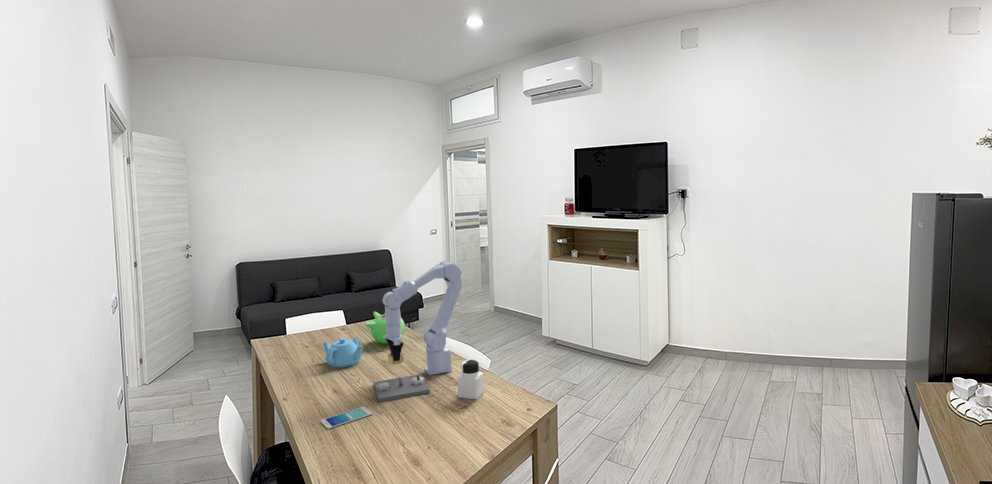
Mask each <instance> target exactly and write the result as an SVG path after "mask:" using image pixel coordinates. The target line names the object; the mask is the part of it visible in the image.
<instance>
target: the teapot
mask: <svg viewBox="0 0 992 484" xmlns="http://www.w3.org/2000/svg"><path fill="white" fill-rule="evenodd" d="M322 345H323V348H324V350H325V353H326V355H325V356H326V357H325V361H326V362H327V364H328V365H329V366H330V367H332V368H335V369H337V368H338V369H339V368H340V369H341V368H343V369H344V368H348V367H351V366H355V365H356V364H358V362H359V361H360V360H361V357H362V356H361V355H362V352H363V351H362V350H363V346H364V345H362V344H359V337H353V340H351V339H347V338H345V337H341V338H339V339H338V340H337V341H334V342H333V343H332V344H331V345H330V343H329V341H324V342H322Z"/></svg>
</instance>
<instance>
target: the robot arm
mask: <svg viewBox="0 0 992 484" xmlns="http://www.w3.org/2000/svg"><path fill="white" fill-rule="evenodd" d="M462 273H463V272H462V269H461V268H460V267H459V265H458V264H457V263H453V262H449V261H447V260H443V261H440V262H439V263H437V264H435V265H433V267H432V268H430V269H429V270H426V272H424V273H423V274H422V275H420V276H418V277H417V278H416V279H415V280H413V281H411V280H407V281H406V280H404V281H403V282H402V284H401V285H400V286H398V287H396V288H392V291H388V292H386V293H385V294H384V295H383V298H382V300H381V301H382V304H383V305H384V314H385V321H386V335H384V336H383V338H386V340H387V342H388V344H387V345H388V347H389V351H390V353H392V356H393V360H394V361H399V360H400V355H401V352H402V349H403V346H404V342H403V341H402V342H400V341H401V339H402V337H403V336H402V331H401V318H402V316H401V305H402V303H404V302H405V301H407V300H408V299H410V298H411V297H413V296H414V295H416V294H417V293H418V290H419V288H421V287H423V286H424V285H427V284H428V283H431V281H433V280H435V279H443V280H444V282H445V283H446V285H447V286H446V287H447V289H446V291H445V293H444V296H443V299H442V301H441V304H440V306H439V309H438V311H437V314H436V316H435V319H434V322H433V323H432V324H430V327H429V329H428V330H427V331H425V333H424V335H423V341H424V343H425V344H426V347H425V352H426V354H425V355H426V367H424V371H426V373H427V375H429V376H431V375H437V374H438V375H439V374H443V373H450V372H453V369H452V368H453V367H452V355H451V350H450V347H448V346H446V344H447V336H448V331H447V327H448V325H449V322H450V320H451V317H452V314H453V311H454V308H455V307H456V303H457V301H458V298H459V295H460V293H461V291H462V288H463V287H462V286H463V283H462Z"/></svg>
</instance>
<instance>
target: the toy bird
mask: <svg viewBox="0 0 992 484" xmlns="http://www.w3.org/2000/svg"><path fill="white" fill-rule="evenodd" d="M373 316H374V320H373V321H368V322H365V323H364V326H365V327H367V328H369V329H370V333H371V336H372V338H373V339H374V341H375V342H378V343H380V344H382V345H388V342H387V340H386V338H383V336H384V335H386V321H385V313H383V314H380V313H379V312H377V311H373ZM405 330H406V324H405V322H404V320H403V318H402V317H401V331H402V337H403V336H404V334H405Z"/></svg>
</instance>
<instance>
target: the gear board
mask: <svg viewBox="0 0 992 484" xmlns="http://www.w3.org/2000/svg"><path fill="white" fill-rule="evenodd" d="M373 387H374V390H375V394H376V397H377V400H378V403H380V402H385V401H391V400H396V399H397V400H398V399H401V398H408V397H413V396H418V395H423V394H425V395H426V394H429V393H431V389H430V387H429V385H428V383H427V382H426V378H425V377H423V375H422V374H420V373H419V374H413V375H408V376H399V377H396V378H389V379H384V380H383V379H382V380H377V381H373Z"/></svg>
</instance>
